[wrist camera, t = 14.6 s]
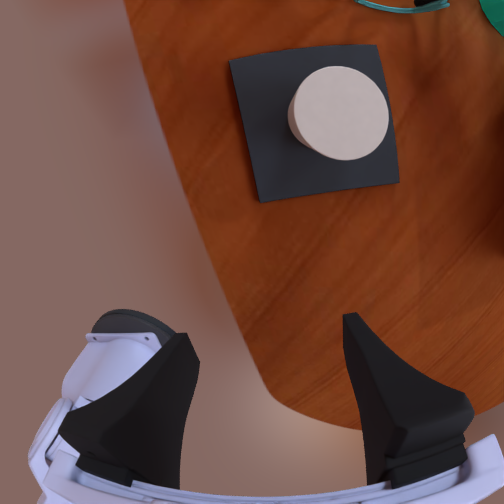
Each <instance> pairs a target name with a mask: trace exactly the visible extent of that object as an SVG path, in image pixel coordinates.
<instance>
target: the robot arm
mask: <svg viewBox="0 0 504 504" xmlns="http://www.w3.org/2000/svg"><path fill="white" fill-rule="evenodd" d="M85 337H86V339H87V341H88V344H87V345H86V347H85V348H84V350H83V351H82V352H81V354H80V355H79V357H78V358H77V359H76V361H75V362H74V364H73V365H72V367H71V368H70V370H69V371H68V373H67V374H66V376H65V378H64V380H63V384H62V398H61V399H58V401H57V402H56V403H55V404H54V406H53V407H52V409H51V410H50V412H49V413H48V415H47V416H46V418H45V420H44V421H43V423H42V425H41V426H40V428H39V430H38V432H37V434H36V436H35V438H34V441H33V444H32V446H31V447H30V449H29V452H28V458H29V459H28V464H29V467H30V469H31V471H32V473H33V475H34V476H35V478H36V480H37V482H38V483H39V485H40V487H41V489H42V490H43V492H42V494H41V496H40V498H39V500H38V502H37V504H476V503H478V502H479V501H481V500H483V499H484V498H486V497H487V496H489V495H491V494H492V493H494V492H495V491H497V490H498V489H500V488H501V487H503V486H504V458H503V455H502V452H501V450H500V447H499V444H498V442H497V439H496V437H495V434H491V435H489V436H488V437H486V438H484V439H482V440H480V441H478V442H476V443H474V444H472V445H470V446H469V447H467V448H466V449H465V448H464V445H463V443H464V442H465V437H464V435H463V433H464V431H465V430H466V429H467V427H468V426H469V424H470V423H471V421H472V420H473V418H474V414H475V412H474V409H473V407H472V405H471V403H470V401H469V399H468V398H467V396H466V395H465V393H463V392H461V391H458V390H456V389H453V388H450V387H448V386H445V385H443V384H441V383H439V382H437V381H435V380H433V379H431V378H429V377H428V376H426V375H424V374H423V373H421V372H419V371H418V370H416V369H415V368H413V367H412V366H410V365H409V364H408V363H406V362H405V361H404V360H402V359H401V358H400V357H399V356H398V355H396V354H395V353H394V352H393V351H392V350H391V349H390V348H389V347H387V346H386V345H385V344H384V343H383V342H382V341H381V340H380V339H379V337H378V336H377V335H376V334H375V333H374V332H373V331H372V330H371V329H370V328H369V327H368V325H367V324H366V323H365V322H364V321H363V319H362V318H361V317H360V316H359V314H358V313H356V312H355V313H349V314H343V349H344V355H345V360H346V366H347V370H348V373H349V376H350V380H351V383H352V386H353V390H354V393H355V397H356V400H357V404H358V408H359V412H360V418H361V425H362V432H363V440H364V449H365V459H366V473H367V486H364V487H359V488H354V489H348V490H342V491H335V492H328V493H321V494H311V495H300V496H280V497H244V496H227V495H215V494H205V493H197V492H190V491H183V490H180V459H181V449H182V440H183V433H184V427H185V422H186V418H187V414H188V410H189V407H190V404H191V400H192V397H193V394H194V391H195V387H196V384H197V380H198V374H199V366H200V361H199V359H198V357H197V355H196V352H195V350H194V348H193V346H192V344H191V341H190V339H189V337H188V335H187V333H175V334H174V335H173V336H172V337H171V338H170V339H169V340H168V341H167V342H166V343H165V344H164V345H163V346H161V344H160V342H159V340H158V338H157V336H156V335H155V334H154V333H151V332H145V333H87V334H86V336H85ZM147 337H148V338H147Z"/></svg>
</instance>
